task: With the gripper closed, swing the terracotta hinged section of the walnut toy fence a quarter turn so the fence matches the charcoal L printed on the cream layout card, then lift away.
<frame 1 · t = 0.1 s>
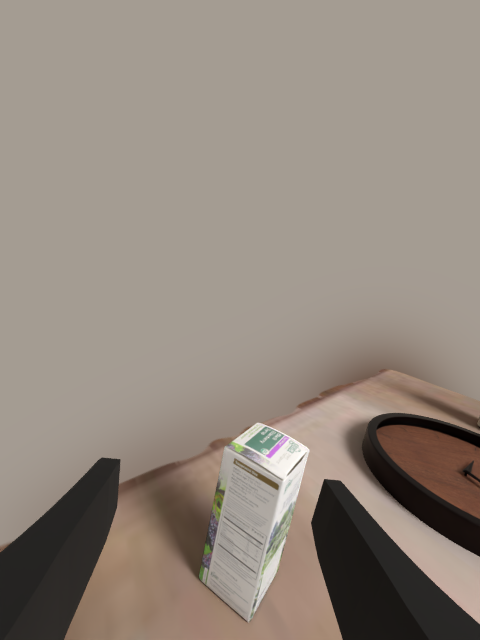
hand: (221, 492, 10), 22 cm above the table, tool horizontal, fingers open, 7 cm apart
wall clock: (461, 486, 49), on the table
syrup box: (239, 578, 29), on the table
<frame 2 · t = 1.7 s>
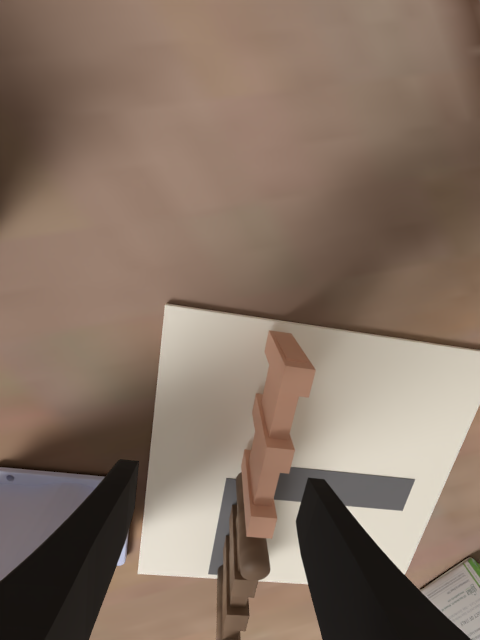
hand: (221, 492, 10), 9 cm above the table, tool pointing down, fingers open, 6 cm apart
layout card: (302, 469, 22), on the table
syrup box: (456, 585, 27), on the table
fixed fence section: (236, 527, 23), resting on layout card
folding fence panel: (270, 428, 17), point 3 cm above the table, hinge at 0.0°
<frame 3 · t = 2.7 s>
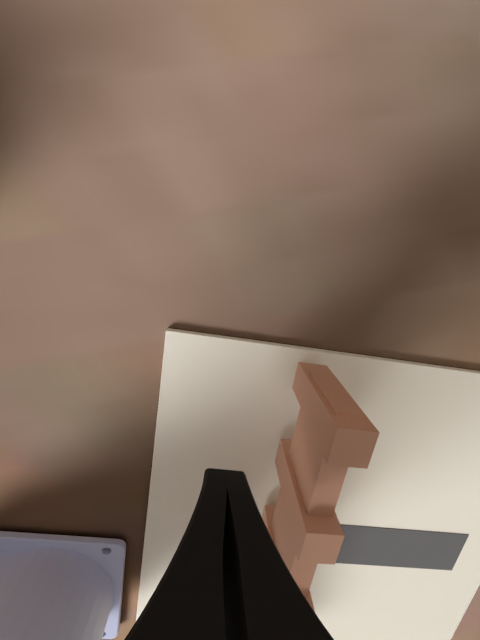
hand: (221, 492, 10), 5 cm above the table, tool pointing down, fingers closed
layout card: (332, 524, 18), on the table
folding fence panel: (303, 491, 13), point 3 cm above the table, hinge at 0.0°
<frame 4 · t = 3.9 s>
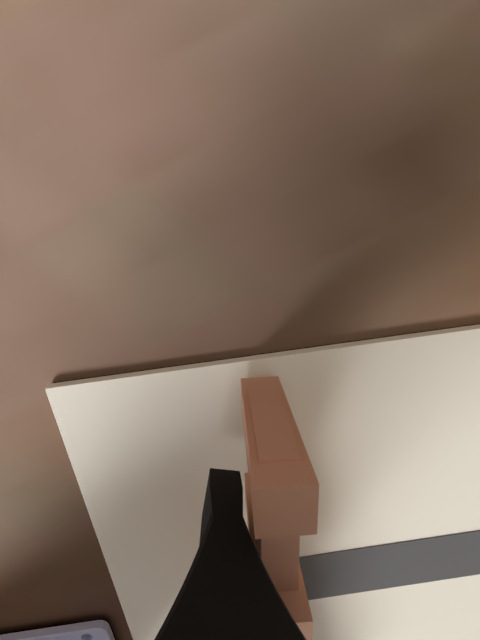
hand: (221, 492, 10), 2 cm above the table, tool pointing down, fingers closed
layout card: (339, 549, 15), on the table
folding fence panel: (270, 545, 10), point 3 cm above the table, hinge at -5.1°, touching gripper
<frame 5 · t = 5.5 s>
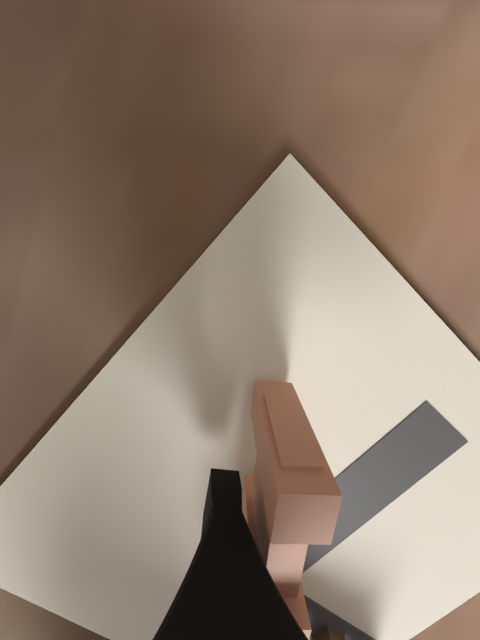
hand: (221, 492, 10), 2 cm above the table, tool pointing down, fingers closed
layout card: (285, 521, 14), on the table
fixed fence section: (306, 624, 16), resting on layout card
folding fence panel: (267, 549, 10), point 3 cm above the table, hinge at -52.4°, touching gripper
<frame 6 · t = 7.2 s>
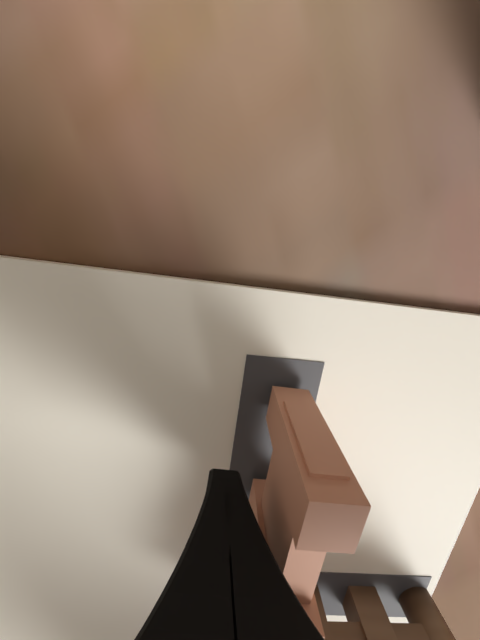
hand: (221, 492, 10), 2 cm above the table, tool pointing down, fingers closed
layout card: (231, 519, 14), on the table
fixed fence section: (329, 593, 15), resting on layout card
folding fence panel: (276, 554, 10), point 3 cm above the table, hinge at -91.4°, touching gripper
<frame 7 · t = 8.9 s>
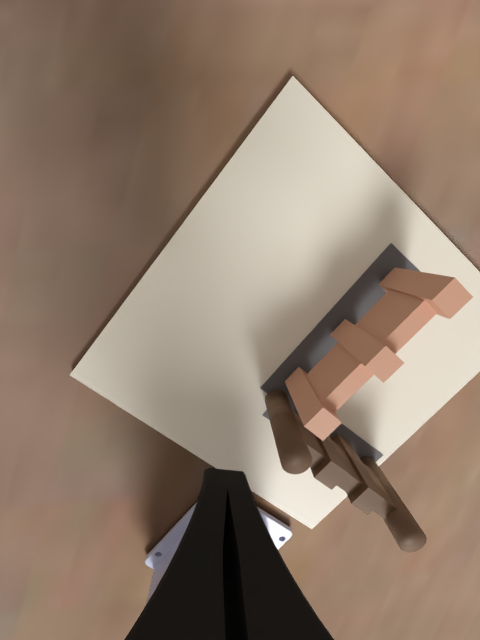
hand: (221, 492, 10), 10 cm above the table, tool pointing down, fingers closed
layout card: (302, 347, 20), on the table
fixed fence section: (322, 433, 22), resting on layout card
folding fence panel: (361, 346, 17), point 3 cm above the table, hinge at -91.5°
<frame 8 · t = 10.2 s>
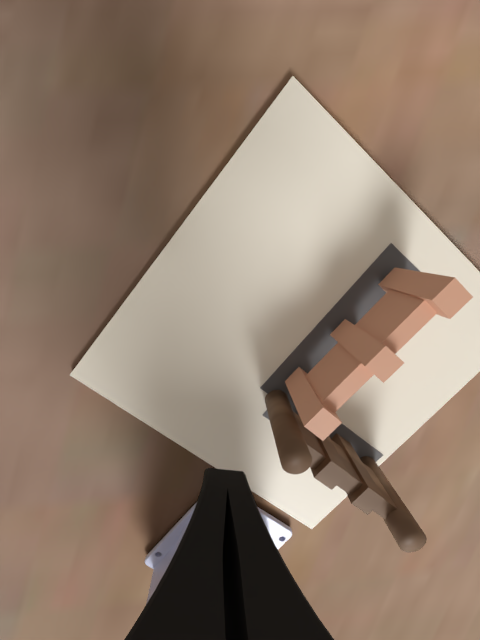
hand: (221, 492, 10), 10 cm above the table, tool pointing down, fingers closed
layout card: (302, 347, 20), on the table
fixed fence section: (322, 433, 22), resting on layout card
folding fence panel: (361, 346, 17), point 3 cm above the table, hinge at -91.5°
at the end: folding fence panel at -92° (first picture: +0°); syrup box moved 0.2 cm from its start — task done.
